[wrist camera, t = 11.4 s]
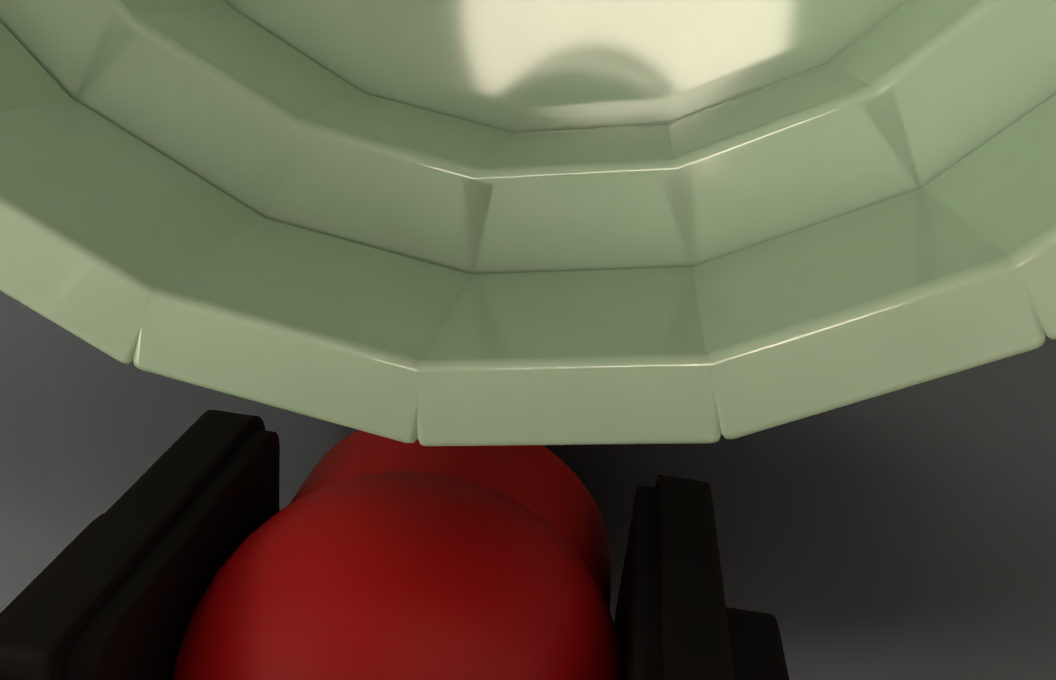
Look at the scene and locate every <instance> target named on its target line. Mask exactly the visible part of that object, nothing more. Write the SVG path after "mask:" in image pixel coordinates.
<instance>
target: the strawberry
mask: <svg viewBox="0 0 1056 680" xmlns="http://www.w3.org/2000/svg"><path fill="white" fill-rule="evenodd" d="M611 575H612V558H611V546H610V542H609V538H608V533H607V529H606V526H605V523H604V521H603V518H602V516H601V513H600V511H599V509H598V507H597V505H596V503H595V501H594V500H593V498H592V496H591V494H590V492H589V491H588V490H587V488H586V487H585V486H584V484H583V483H582V482H581V480H580V479H579V478H578V476H577V475H576V474H575V473H574V472H573V471H572V470H571V469H570V468H569V467H568V466H567V465H566V464H565V463H564V462H563V461H562V460H561V459H560V458H559V457H558V456H556V455H555V454H554V453H553V452H551V451H550V450H549V449H548V448H546V447H545V446H544V445H507V446H423V445H421V444H420V442H419V440H417V441H416V442H415V443H404V442H400V441H397V440H393V439H390V438H386V437H382V436H379V435H375V434H371V433H368V432H364V431H361V430H357V431H356V432H354V433H353V434H351V435H349V436H348V437H346V438H345V439H343V440H341V441H340V442H339V443H338V444H337V445H335V446H334V447H333V448H332V449H331V450H330V451H328V452H327V453H326V454H325V455H324V457H323V458H322V459H321V460H320V461H319V462H318V464H317V465H316V466H315V467H314V468H313V470H312V471H311V473H310V474H309V476H308V477H307V479H306V480H305V482H304V484H303V485H302V487H301V488H300V490H299V491H298V493H297V494H296V496H295V497H294V499H293V500H292V502H291V503H290V505H289V506H287V507H286V508H284V509H282V510H281V511H279V512H278V513H276V514H275V515H274V516H273V517H271V518H270V519H269V520H268V521H266V522H265V523H264V524H263V525H261V526H260V527H259V528H258V529H257V530H256V531H254V532H253V533H252V534H251V535H250V536H248V537H247V538H246V539H245V540H244V541H243V543H242V544H241V545H240V546H239V547H238V548H237V550H236V551H235V552H234V553H233V554H232V555H231V557H230V558H229V559H228V560H227V561H226V562H225V564H224V565H223V566H222V567H221V568H220V569H219V571H218V572H217V573H216V575H215V577H214V578H213V580H212V582H211V583H210V585H209V586H208V588H207V590H206V591H205V593H204V595H203V597H202V598H201V600H200V602H199V604H198V605H197V607H196V609H195V610H194V612H193V615H192V617H191V620H190V623H189V625H188V628H187V630H186V633H185V636H184V638H183V641H182V644H181V647H180V649H179V652H178V655H177V660H176V665H175V670H174V675H173V680H623V656H622V652H621V648H620V644H619V639H618V636H617V632H616V628H615V625H614V621H613V619H612V616H611V614H610V593H611Z"/></svg>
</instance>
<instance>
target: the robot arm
mask: <svg viewBox="0 0 1056 680" xmlns="http://www.w3.org/2000/svg"><path fill="white" fill-rule="evenodd" d="M279 449H280V447H279V438H278V435H277V433H276V432H272V431H265V426H264V423H263V420H262V419H261V418H260V417H258V416H251V415H244V414H237V413H230V412H224V411H217V410H208V411H207V412H205V413H204V414H203V415H202V416H201V417H200V418H199V419H198V420H197V421H196V422H195V423H194V424H193V425H192V426H191V427H190V428H189V429H188V430H187V431H186V432H185V433H184V434H183V435H182V436H181V437H180V438H179V439H178V440H177V441H176V442H175V443H174V444H173V445H172V446H171V447H170V448H169V449H168V450H167V451H166V452H165V453H164V454H163V455H162V456H161V457H160V458H159V459H158V460H157V461H156V462H155V463H154V464H153V465H152V466H151V467H150V468H149V469H148V470H147V471H146V472H145V473H144V474H143V475H142V476H141V477H140V478H139V479H138V480H137V481H136V482H135V483H134V484H133V485H132V486H131V487H130V488H129V489H128V491H127V492H126V493H125V494H124V495H123V496H122V497H121V498H120V499H119V500H118V501H117V502H116V503H115V504H114V505H113V506H112V507H111V508H110V509H109V510H108V511H107V512H106V513H105V514H102V515H100V516H99V517H98V518H96V519H95V520H94V521H92V522H91V523H90V524H89V525H88V526H87V527H86V528H85V529H84V530H83V531H82V532H81V533H80V534H79V535H78V536H77V537H76V538H75V539H74V540H73V541H72V542H71V543H70V544H69V545H68V546H67V547H66V548H65V549H64V550H63V551H62V552H61V553H60V554H59V555H58V556H57V557H56V558H55V559H54V560H53V561H52V562H51V563H50V564H49V565H48V566H47V567H46V568H45V569H44V570H43V571H42V572H41V573H40V574H39V575H38V576H37V577H36V578H35V579H34V580H33V581H32V582H31V583H30V584H29V585H28V586H27V587H26V588H25V589H24V590H23V591H22V592H21V593H20V594H19V595H18V596H17V597H16V598H15V599H14V600H13V601H12V602H11V603H10V604H9V605H8V606H7V607H6V608H5V609H4V610H3V611H2V612H1V613H0V680H173V675H174V670H175V665H176V660H177V655H178V652H179V649H180V647H181V644H182V641H183V638H184V636H185V633H186V630H187V628H188V625H189V623H190V620H191V617H192V615H193V612H194V610H195V609H196V607H197V605H198V604H199V602H200V600H201V598H202V597H203V595H204V593H205V591H206V590H207V588H208V586H209V585H210V583H211V582H212V580H213V578H214V577H215V575H216V573H217V572H218V571H219V569H220V568H221V567H222V566H223V565H224V564H225V562H226V561H227V560H228V559H229V558H230V557H231V555H232V554H233V553H234V552H235V551H236V550H237V548H238V547H239V546H240V545H241V544H242V543H243V541H244V540H245V539H246V538H247V537H248V536H250V535H251V534H252V533H253V532H254V531H256V530H257V529H258V528H259V527H260V526H261V525H263V524H264V523H265V522H266V521H268V520H269V519H270V518H271V517H273V516H274V515H275V514H276V513H278V512H279ZM614 625H615V628H616V632H617V636H618V639H619V644H620V648H621V652H622V656H623V680H789V676H788V671H787V666H786V661H785V656H784V651H783V646H782V641H781V636H780V631H779V627H778V624H777V620H776V618H775V617H774V616H773V615H772V614H767V613H761V612H754V611H748V610H741V609H735V608H728V607H726V605H725V597H724V589H723V581H722V573H721V565H720V557H719V549H718V541H717V533H716V525H715V517H714V509H713V501H712V493H711V486H710V482H706V481H699V480H692V479H685V478H678V477H672V476H665V475H658V478H657V481H656V486H655V487H649V486H642V485H637V489H636V493H635V499H634V505H633V511H632V517H631V523H630V529H629V535H628V541H627V547H626V553H625V559H624V566H623V572H622V578H621V584H620V590H619V596H618V602H617V608H616V614H615V620H614Z"/></svg>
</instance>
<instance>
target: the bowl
mask: <svg viewBox="0 0 1056 680" xmlns="http://www.w3.org/2000/svg"><path fill="white" fill-rule="evenodd" d="M0 291H2V292H4V293H5V294H7V295H9V296H10V297H12V298H14V299H15V300H17V301H19V302H20V303H22V304H24V305H25V306H27V307H29V308H31V309H32V310H34V311H36V312H37V313H39V314H41V315H42V316H44V317H46V318H47V319H49V320H51V321H52V322H54V323H56V324H57V325H59V326H61V327H62V328H64V329H66V330H68V331H69V332H71V333H73V334H74V335H76V336H78V337H79V338H81V339H83V340H84V341H86V342H88V343H89V344H91V345H93V346H94V347H96V348H98V349H99V350H101V351H103V352H105V353H106V354H108V355H110V356H111V357H113V358H115V359H116V360H118V361H120V362H121V363H125V364H131V363H133V362H134V365H135V366H136V367H137V368H139V369H140V370H144V371H147V372H151V373H155V374H158V375H162V376H165V377H169V378H173V379H176V380H180V381H183V382H187V383H191V384H194V385H198V386H202V387H205V388H209V389H212V390H216V391H220V392H223V393H227V394H230V395H234V396H238V397H241V398H245V399H249V400H252V401H256V402H259V403H263V404H267V405H270V406H274V407H277V408H281V409H285V410H288V411H292V412H296V413H299V414H303V415H306V416H310V417H314V418H317V419H321V420H324V421H328V422H332V423H335V424H339V425H343V426H346V427H350V428H353V429H357V430H361V431H364V432H368V433H371V434H375V435H379V436H382V437H386V438H390V439H393V440H397V441H400V442H404V443H415V442H416V441H417V440H419V442H420V444H421V445H423V446H507V445H594V444H682V443H714V442H717V441H719V439H720V437H721V435H722V436H723V437H724V438H726V439H735V438H738V437H742V436H745V435H748V434H752V433H755V432H759V431H762V430H765V429H769V428H772V427H775V426H779V425H782V424H785V423H789V422H792V421H795V420H799V419H802V418H806V417H809V416H812V415H816V414H819V413H822V412H826V411H829V410H832V409H836V408H839V407H842V406H846V405H849V404H853V403H856V402H859V401H863V400H866V399H869V398H873V397H876V396H879V395H883V394H886V393H889V392H893V391H896V390H899V389H903V388H906V387H910V386H913V385H916V384H920V383H923V382H926V381H930V380H933V379H936V378H940V377H943V376H946V375H950V374H953V373H957V372H960V371H963V370H967V369H970V368H973V367H977V366H980V365H983V364H987V363H990V362H993V361H997V360H1000V359H1004V358H1007V357H1010V356H1014V355H1017V354H1020V353H1024V352H1027V351H1030V350H1034V349H1037V348H1039V347H1040V346H1042V345H1043V344H1044V342H1045V337H1047V338H1049V339H1052V340H1054V339H1056V0H0Z"/></svg>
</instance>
